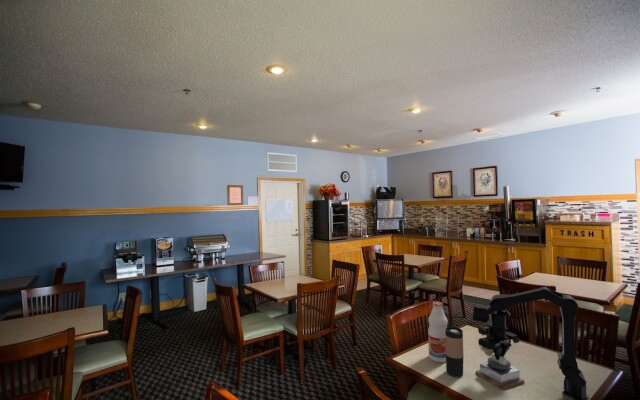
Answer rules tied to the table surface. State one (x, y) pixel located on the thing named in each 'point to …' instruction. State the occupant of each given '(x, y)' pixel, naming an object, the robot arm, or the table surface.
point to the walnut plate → (503, 386)
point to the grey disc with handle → (499, 363)
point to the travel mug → (454, 351)
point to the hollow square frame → (500, 373)
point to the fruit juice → (437, 333)
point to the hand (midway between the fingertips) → (499, 359)
